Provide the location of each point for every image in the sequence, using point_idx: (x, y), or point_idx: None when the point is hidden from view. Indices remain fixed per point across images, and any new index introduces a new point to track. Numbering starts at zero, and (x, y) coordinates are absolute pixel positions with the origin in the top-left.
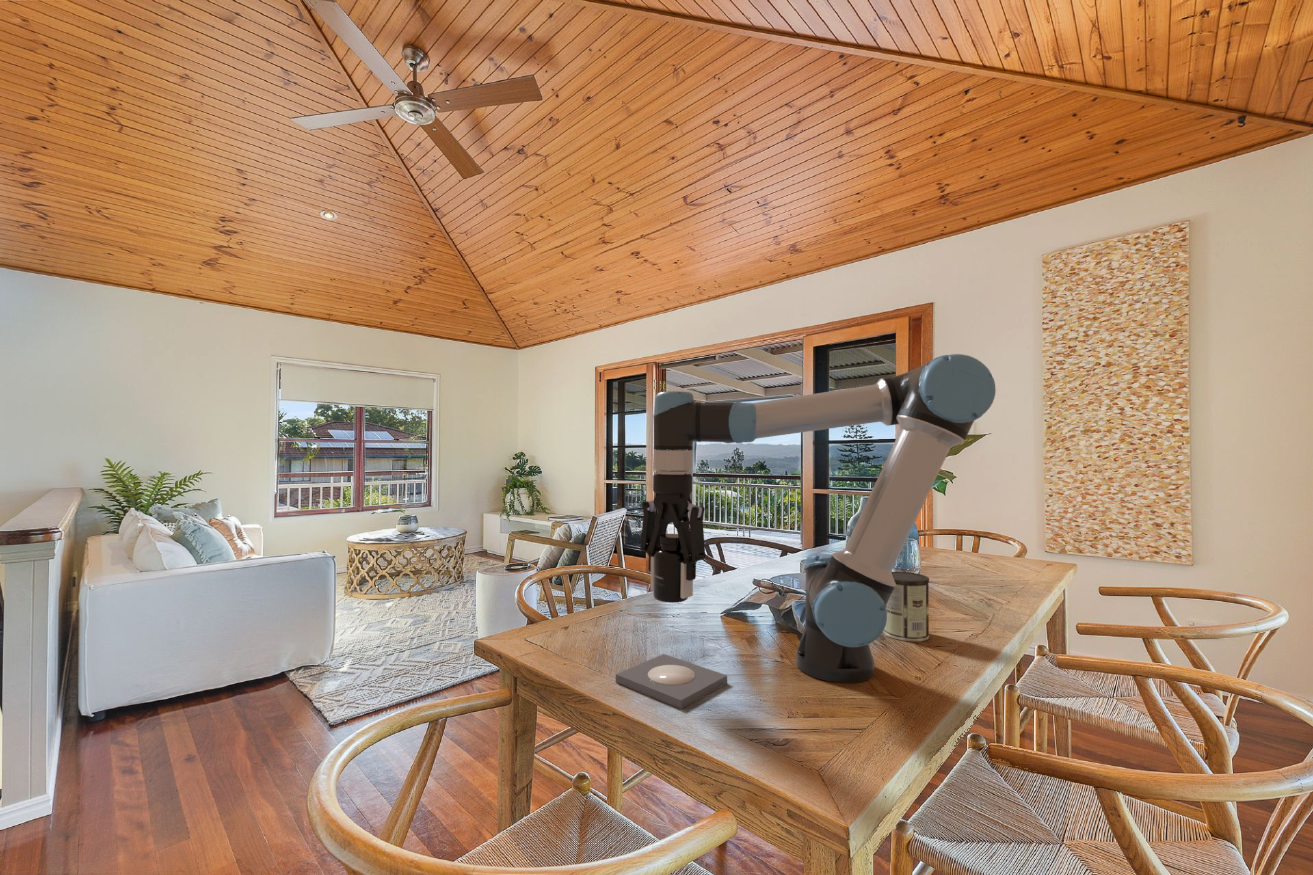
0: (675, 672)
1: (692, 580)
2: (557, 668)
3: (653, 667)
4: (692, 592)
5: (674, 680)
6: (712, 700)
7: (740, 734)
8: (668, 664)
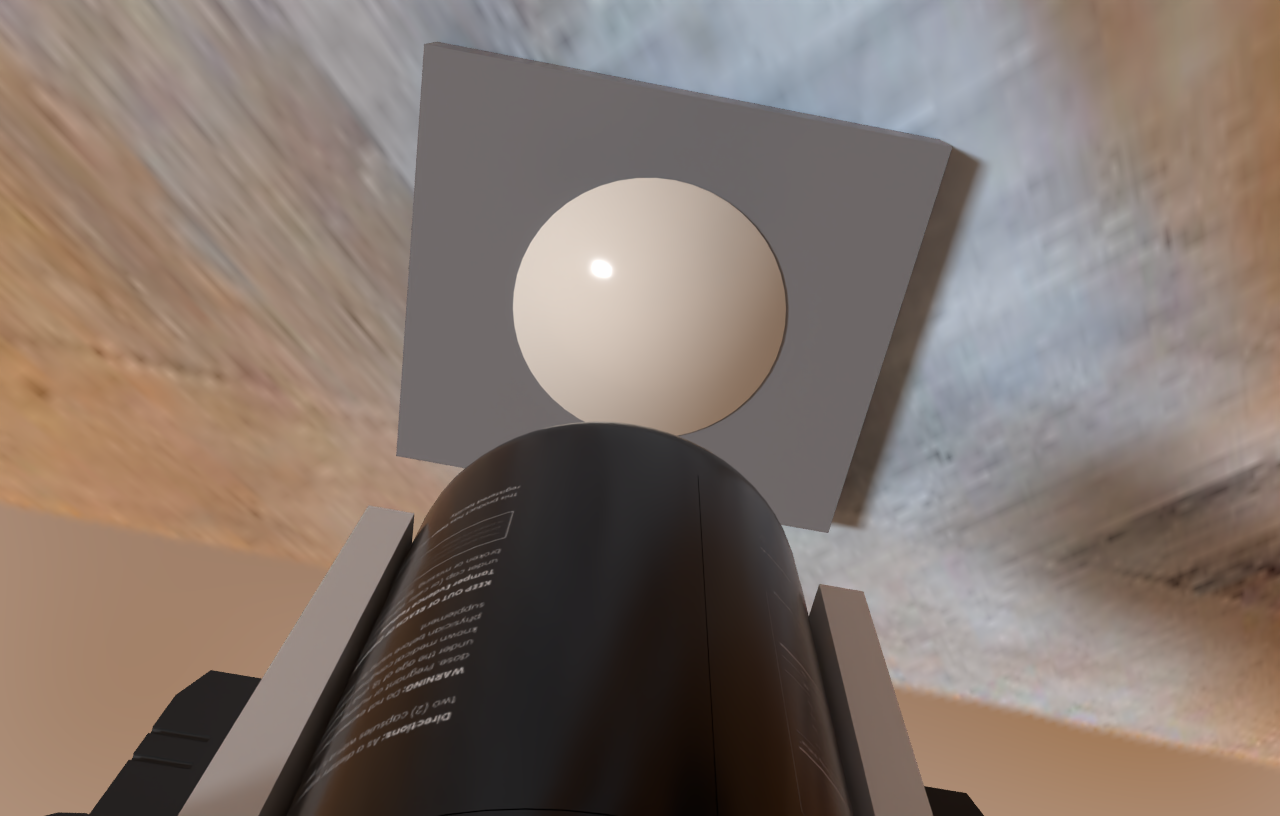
0: (656, 283)
1: (900, 725)
2: (63, 452)
3: (504, 280)
4: (869, 618)
5: (703, 376)
6: (927, 370)
7: (1126, 568)
8: (554, 193)
